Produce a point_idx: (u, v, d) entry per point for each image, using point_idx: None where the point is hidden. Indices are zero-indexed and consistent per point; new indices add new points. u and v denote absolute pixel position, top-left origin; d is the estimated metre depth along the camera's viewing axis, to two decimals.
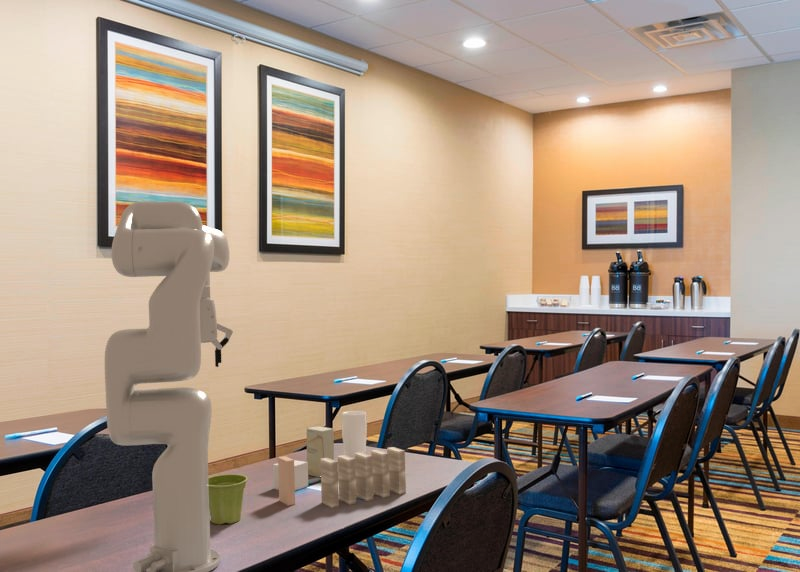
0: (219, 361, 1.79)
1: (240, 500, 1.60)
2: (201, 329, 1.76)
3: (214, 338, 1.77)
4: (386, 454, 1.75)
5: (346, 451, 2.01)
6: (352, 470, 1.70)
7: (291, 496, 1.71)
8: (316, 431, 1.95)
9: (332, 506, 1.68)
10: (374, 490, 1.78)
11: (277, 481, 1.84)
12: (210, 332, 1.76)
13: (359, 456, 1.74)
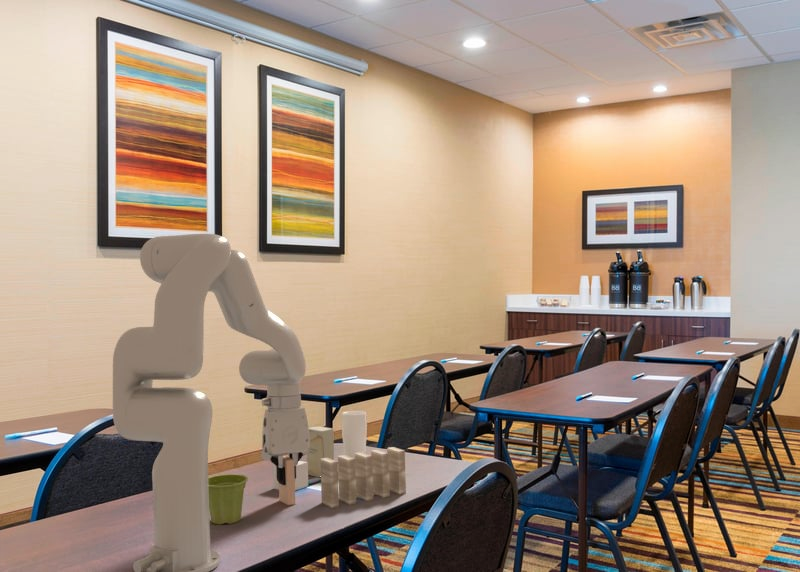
0: None
1: (240, 500, 1.60)
2: (296, 439, 1.71)
3: (308, 447, 1.73)
4: (386, 454, 1.75)
5: (346, 451, 2.01)
6: (352, 470, 1.70)
7: (291, 496, 1.71)
8: (316, 431, 1.95)
9: (332, 506, 1.68)
10: (374, 490, 1.78)
11: (277, 481, 1.84)
12: (304, 441, 1.72)
13: (359, 456, 1.74)
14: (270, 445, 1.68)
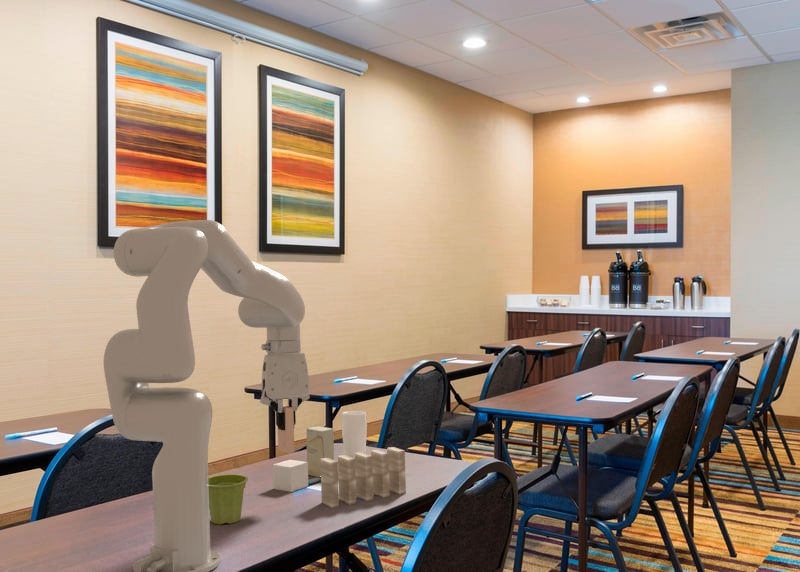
0: None
1: (240, 500, 1.60)
2: (296, 384, 1.71)
3: (307, 392, 1.72)
4: (386, 454, 1.75)
5: (346, 451, 2.01)
6: (352, 470, 1.70)
7: (290, 444, 1.70)
8: (316, 431, 1.95)
9: (332, 506, 1.68)
10: (374, 490, 1.78)
11: (277, 481, 1.84)
12: (304, 386, 1.72)
13: (359, 456, 1.74)
14: (270, 389, 1.68)
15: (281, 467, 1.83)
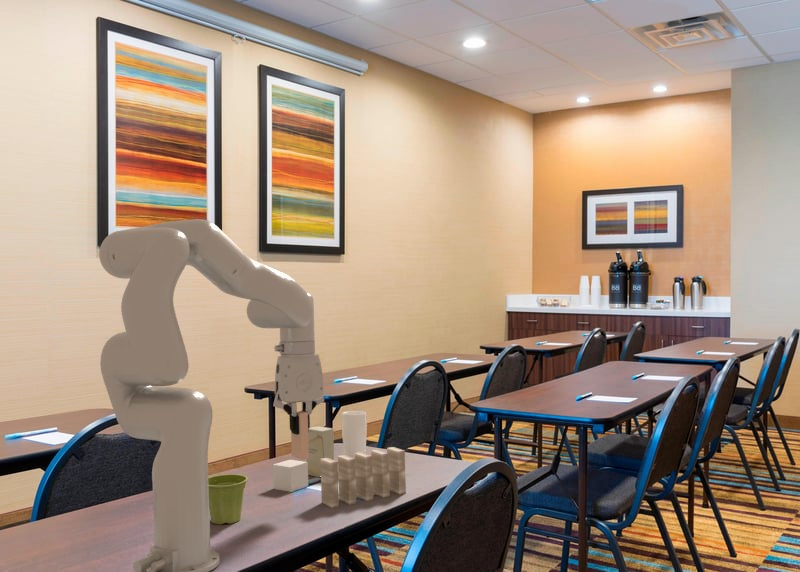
0: None
1: (240, 500, 1.60)
2: (310, 386, 1.65)
3: (322, 395, 1.67)
4: (386, 454, 1.75)
5: (346, 451, 2.01)
6: (352, 470, 1.70)
7: (304, 450, 1.64)
8: (316, 431, 1.95)
9: (332, 506, 1.68)
10: (374, 490, 1.78)
11: (277, 481, 1.84)
12: (318, 389, 1.66)
13: (359, 456, 1.74)
14: (283, 392, 1.62)
15: (281, 467, 1.83)
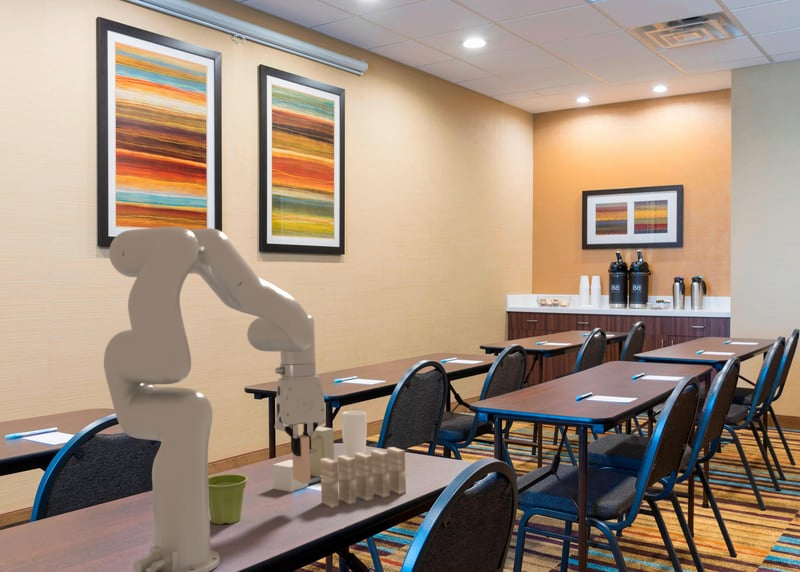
0: None
1: (240, 500, 1.60)
2: (311, 408, 1.65)
3: (323, 416, 1.67)
4: (386, 454, 1.75)
5: (346, 451, 2.01)
6: (352, 470, 1.70)
7: (306, 474, 1.65)
8: (316, 431, 1.95)
9: (332, 506, 1.68)
10: (374, 490, 1.78)
11: (277, 481, 1.84)
12: (320, 410, 1.66)
13: (359, 456, 1.74)
14: (284, 414, 1.62)
15: (281, 467, 1.83)
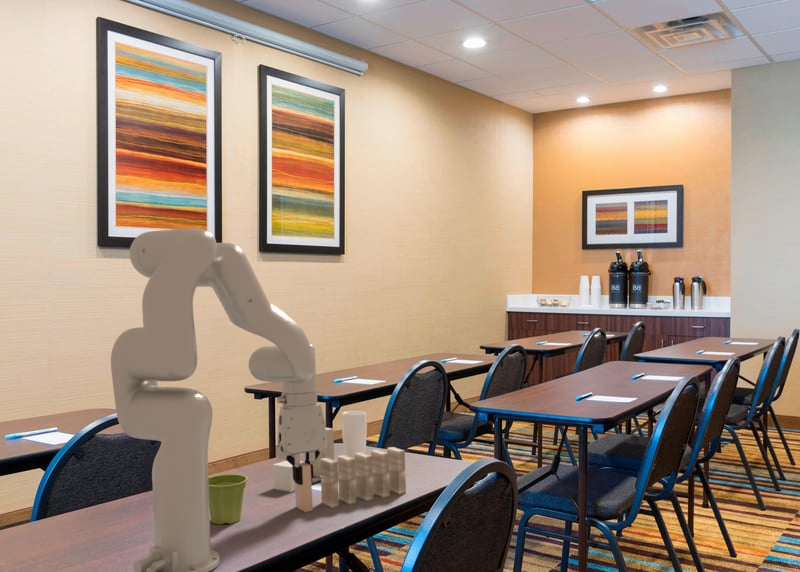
0: (311, 476, 1.67)
1: (240, 500, 1.60)
2: (313, 437, 1.65)
3: (325, 445, 1.67)
4: (386, 454, 1.75)
5: (346, 451, 2.01)
6: (352, 470, 1.70)
7: (308, 502, 1.65)
8: None
9: (332, 506, 1.68)
10: (374, 490, 1.78)
11: (277, 481, 1.84)
12: (321, 439, 1.67)
13: (359, 456, 1.74)
14: (286, 444, 1.62)
15: (281, 467, 1.83)
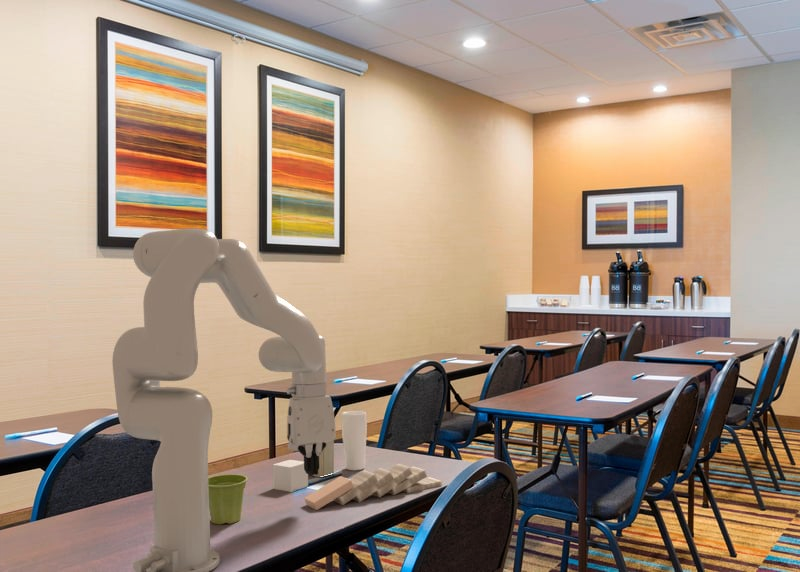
0: None
1: (240, 500, 1.60)
2: (322, 428, 1.66)
3: (334, 436, 1.68)
4: (425, 474, 1.81)
5: (346, 451, 2.01)
6: (384, 481, 1.75)
7: (322, 502, 1.67)
8: None
9: (341, 498, 1.69)
10: None
11: (277, 481, 1.84)
12: (330, 430, 1.67)
13: (402, 465, 1.80)
14: (295, 434, 1.63)
15: (281, 467, 1.83)
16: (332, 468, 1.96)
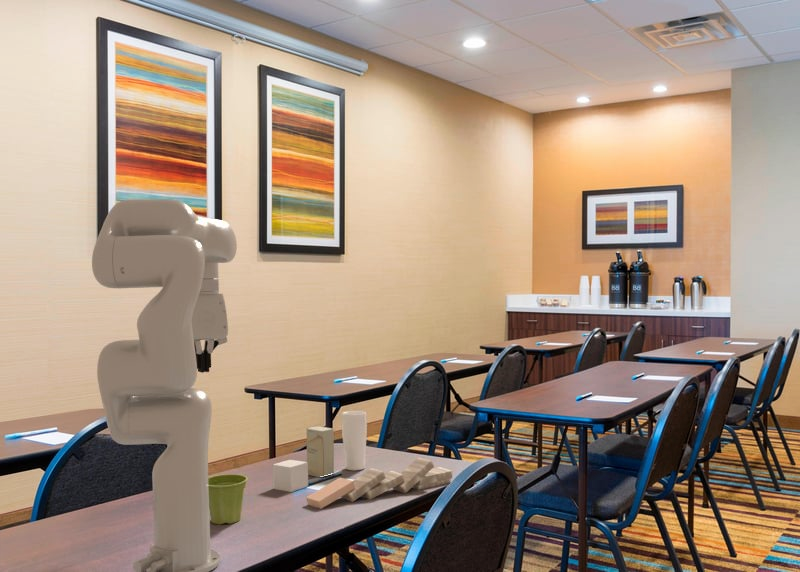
0: (209, 366, 1.66)
1: (240, 500, 1.60)
2: (213, 324, 1.64)
3: (226, 334, 1.66)
4: (451, 476, 1.86)
5: (346, 451, 2.01)
6: (395, 483, 1.77)
7: (326, 501, 1.68)
8: (316, 431, 1.95)
9: (350, 495, 1.71)
10: None
11: (277, 481, 1.84)
12: (222, 328, 1.65)
13: (423, 459, 1.84)
14: None
15: (281, 467, 1.83)
16: (332, 468, 1.96)
